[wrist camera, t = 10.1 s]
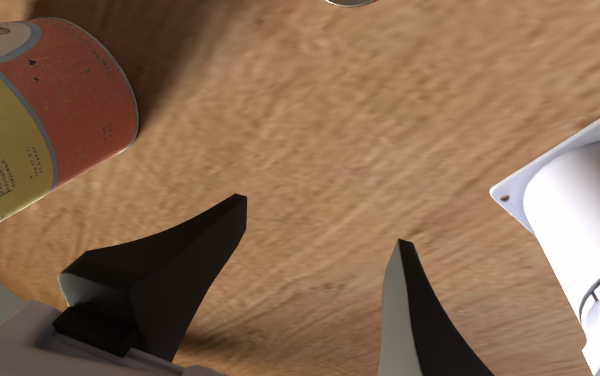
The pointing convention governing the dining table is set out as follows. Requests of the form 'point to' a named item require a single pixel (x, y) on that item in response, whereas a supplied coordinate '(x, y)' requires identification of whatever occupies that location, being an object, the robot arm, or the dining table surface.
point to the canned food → (57, 108)
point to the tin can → (350, 2)
